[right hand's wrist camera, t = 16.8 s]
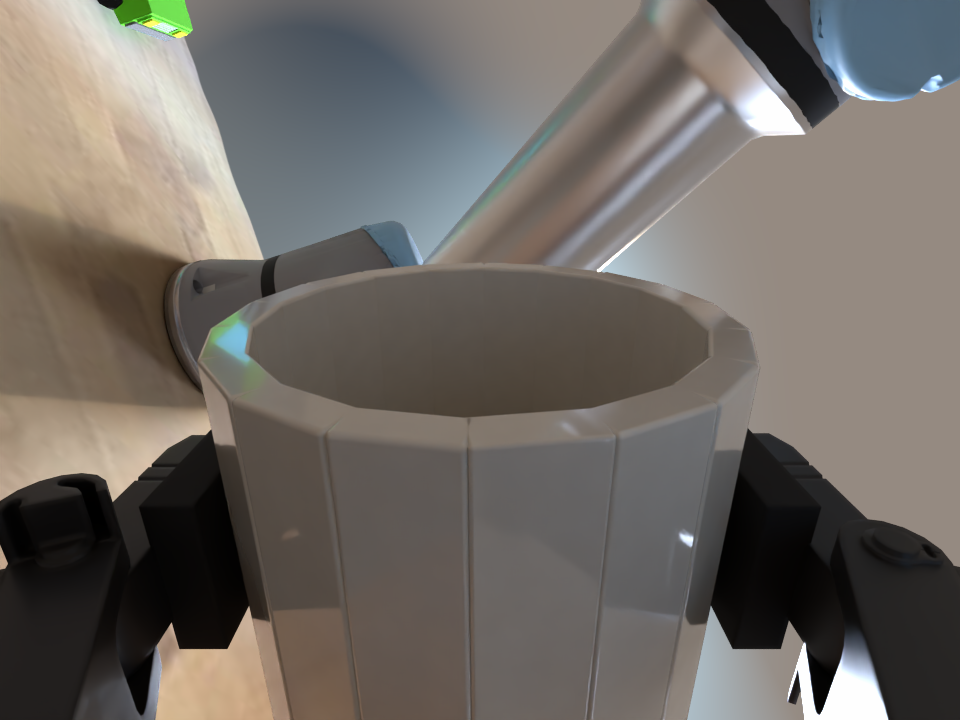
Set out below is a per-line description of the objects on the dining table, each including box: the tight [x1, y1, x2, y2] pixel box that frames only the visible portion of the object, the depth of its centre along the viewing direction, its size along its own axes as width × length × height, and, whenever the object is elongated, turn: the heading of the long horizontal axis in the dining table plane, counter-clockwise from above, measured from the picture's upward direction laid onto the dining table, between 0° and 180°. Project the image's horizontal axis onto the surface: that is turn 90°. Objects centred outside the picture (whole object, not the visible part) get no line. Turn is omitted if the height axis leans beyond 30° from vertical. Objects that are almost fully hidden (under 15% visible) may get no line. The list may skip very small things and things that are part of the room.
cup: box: [197, 263, 760, 720], centre depth 10 cm, size 8×8×10 cm
